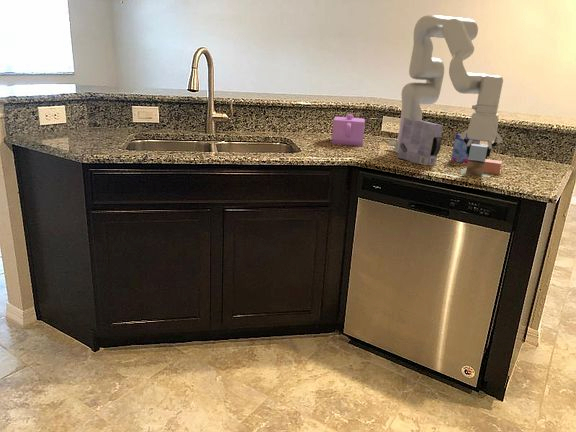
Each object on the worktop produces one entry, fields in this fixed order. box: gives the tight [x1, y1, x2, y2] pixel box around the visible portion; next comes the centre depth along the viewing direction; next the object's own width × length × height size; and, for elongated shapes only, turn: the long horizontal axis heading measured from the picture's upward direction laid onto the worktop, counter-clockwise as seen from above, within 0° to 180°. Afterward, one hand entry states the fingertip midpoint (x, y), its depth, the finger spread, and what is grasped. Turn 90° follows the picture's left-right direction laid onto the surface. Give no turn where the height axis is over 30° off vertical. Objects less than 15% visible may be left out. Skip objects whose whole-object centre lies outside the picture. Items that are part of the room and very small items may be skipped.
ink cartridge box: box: [450, 133, 481, 164], centre depth 204 cm, size 10×6×14 cm, turn 111°
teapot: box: [331, 113, 366, 147], centre depth 236 cm, size 15×25×14 cm, turn 172°
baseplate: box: [460, 169, 489, 178], centre depth 185 cm, size 10×7×1 cm
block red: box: [483, 158, 503, 175], centre depth 189 cm, size 6×6×5 cm
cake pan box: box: [397, 118, 444, 166], centre depth 199 cm, size 19×5×18 cm, turn 32°
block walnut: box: [465, 159, 486, 177], centre depth 183 cm, size 6×6×5 cm
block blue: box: [468, 144, 488, 161], centre depth 181 cm, size 6×6×5 cm
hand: (477, 156), depth 182 cm, fingers closed on block blue, 5 cm apart
